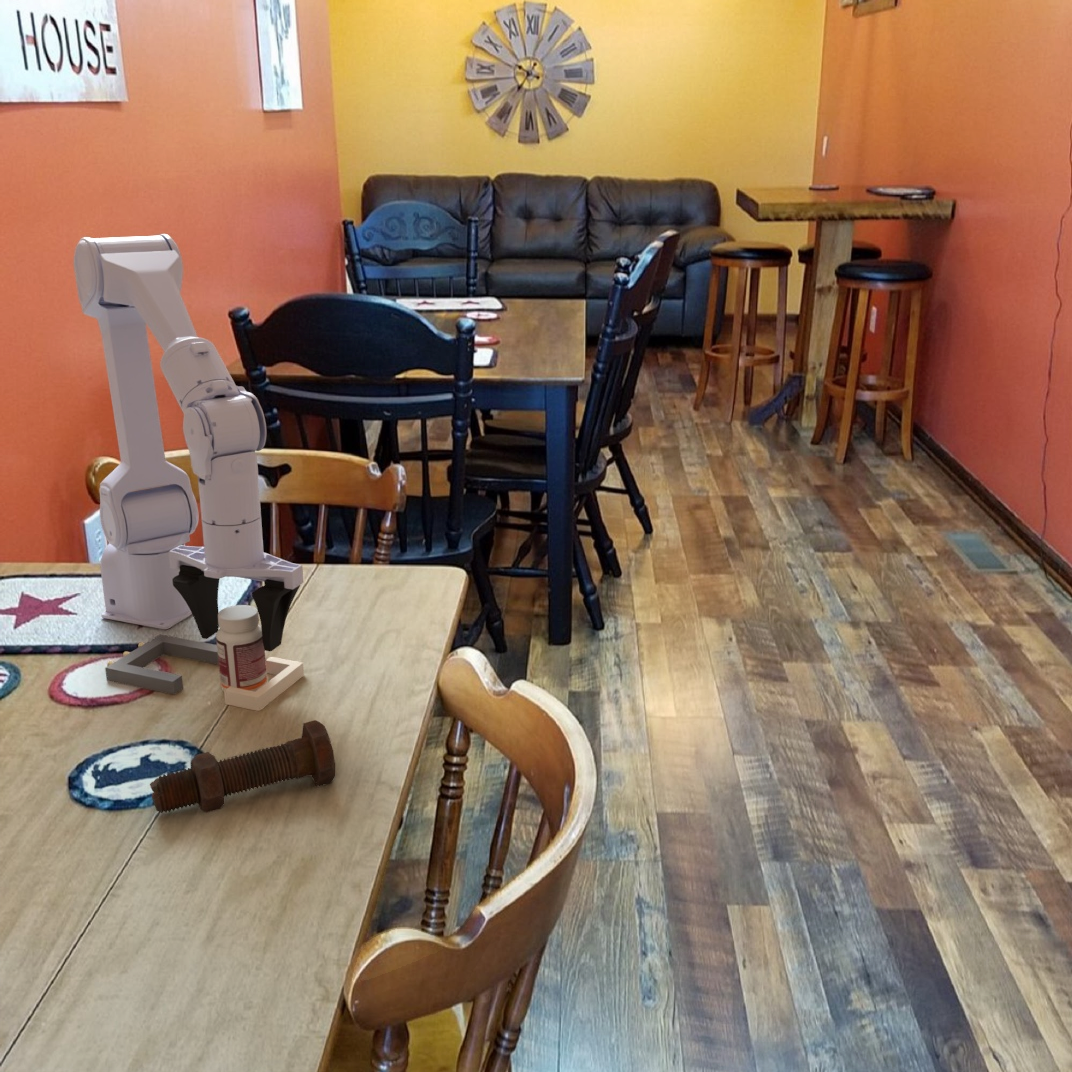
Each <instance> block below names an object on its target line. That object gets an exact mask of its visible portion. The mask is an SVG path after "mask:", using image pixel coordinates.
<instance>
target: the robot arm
mask: <svg viewBox="0 0 1072 1072" xmlns="http://www.w3.org/2000/svg"><path fill="white" fill-rule="evenodd" d="M173 239H174V238H172V237H171V236H170V235H169V234H166V233H159V234H158V235H148V236H146V235H145V236H144V235H143V236H120V237H100V238H99V237H96V238H92V237H87V236H84V237H81V238H80V239H79V241H78V242H77V245H76V246H75V249H74V254H73V255H74V256H73V261H72V262H73V270H74V277H75V283H76V289H77V295H78V302H79V304H80V306H81V312H82V314H83V315H86V316H88V317H91V318H93V319H96V320H97V323H98V327H99V331H100V334H101V341H102V348H103V352H104V360H105V367H106V373H107V380H108V384H109V392H110V393H109V394H110V399H111V405H112V412H113V418H114V425H115V430H116V436H117V443H118V444H117V445H118V450H119V455H120V456H119V457H120V463H119V464H118V465H117V466H116V467H115V468H114V470H112V471H111V472H110V473H109V474H108V475H107V476H106V477H105V478H103V480H102V481H101V482H100V483H99V489H98V491H99V500H100V501H99V503H100V504H99V518H100V525H101V528H102V531H103V534H104V537H105V539H106V540H107V542H108V544H107V545H106V547H105V548H104V549H103V551H102V555H101V558H100V574H101V575H100V576H101V585H102V591H103V598H104V599H103V600H104V607H105V611H103V612H102V613H101V616H100V617H101V618H103V619H106V620H107V619H108V620H113V621H117V622H123V623H128V624H133V625H139V626H144V627H150V628H154V629H160V630H168V629H170V628H172V627H174V626H175V625H177V624H179V623H180V622H182V621H184V620H185V619H187V618H189V617H190V616H191V615H192V617H193V619H194V622H195V625H196V627H197V630H198V632H199V635H200V637H201V639H204V640H208V639H210V638H211V637H212V636H214V635H216V634H217V631H218V630H219V629H220V628H219V624H218V613H219V586H220V579H223V578H225V577H235V578H242V579H247V580H253V581H258V582H264V583H263V584H264V585H262V586H259V588H257V589H255V590H254V591H252V592H251V597H252V599H253V602H254V604H255V606H256V607H255V608H256V609H257V610H258V616H259V622H260V626H261V629H262V640H263V646H264V649H265V652H266V651H267V652H272V651H274V650H275V649H276V648H278V647H279V646H280V645H282V639H283V635H284V628H285V624H286V619H287V616H288V614H289V610H290V609H291V605H292V603H293V601H294V599H295V597H296V595H297V592H298V590H300V587H301V585H302V584H304V573H303V572H304V571H303V568H304V567H303V565H302V564H299V563H293V562H291V561H288V560H285V559H283V558H280V557H277V556H275V555H273V554H269V553H267V552H264V540H263V538H264V537H263V527H262V511H261V510H262V509H261V499H260V498H261V496H260V495H261V494H260V481H259V467H258V454H257V453H256V452H259V451H262V449H264V447H265V445H266V442H267V423H266V418H265V414H264V411H263V408H262V406H261V404H260V401H259V399H258V397H256V395H254V393H252V392H249V391H247V390H246V389H245V387H244V386H242V385H241V386H238V385H236V383H235V381H234V379H233V378H232V375H231V374H230V372H229V370H228V369H227V367H226V366H227V365H226V364H225V363H224V360H223V359H222V357H221V355H220V353H219V351H218V350H217V347H216V346H215V345H214V343H213V342H212V341H210V340H209V339H206V338H204V337H198V334H197V332H196V329H195V327H194V325H193V321H192V318H191V317H190V314H189V311H188V309H187V307H186V304H185V302H184V300H183V298H182V294H181V291H182V286H183V285H182V284H183V279H184V278H183V277H184V265H183V258H182V254H181V252H180V248H179V246H178V244H177V243H176V241H174V240H173ZM147 328H148V329H149V331H150V332H151V333H152V336H153V337H154V338H155V340H156V341H157V343H158V345H159V346H160V348H162V349H161V350H163V353H162V356H161V359H160V363H159V365H160V370H161V372H162V374H163V376H164V379H166V380H165V381H166V382H167V384H168V387H169V388H170V390H171V391H172V394H173V396H174V397H175V399H176V402H177V403H178V406H179V407H180V410H181V411H182V413H183V424H182V430H183V431H182V432H183V437H184V440H185V444H186V446H187V449H188V453H189V456H190V465H191V466H190V467H191V469H192V472H193V474H194V475H195V476H197V480H198V481H197V482H198V483H197V484H198V493H199V495H198V496H199V504H200V505H198V504H197V503H198V502H197V500H196V497H195V496H196V495H194V492H193V489H192V485H191V479H190V476H189V475H188V474H187V472H186V471H184V470H183V469H182V468H180V467H178V466H177V465H175V464H173V463H171V462H169V461H167V460H166V456H165V455H166V454H165V448H164V447H165V446H164V440H163V434H162V427H161V421H160V414H159V406H158V405H159V404H158V399H157V393H156V392H157V391H156V386H155V385H156V384H155V378H154V371H153V364H152V359H151V351H150V344H149V336H148V329H147ZM198 506H200V513H199V507H198ZM199 515H201V516H200V517H201V527H202V538H203V539H202V540H203V546H193V545H192V546H190V545H186V543H190V542H191V539H190V537H191V536H190V535H192V534H193V533H195V531H196V528H197V527H198V525H199V518H200V517H199Z"/></svg>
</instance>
